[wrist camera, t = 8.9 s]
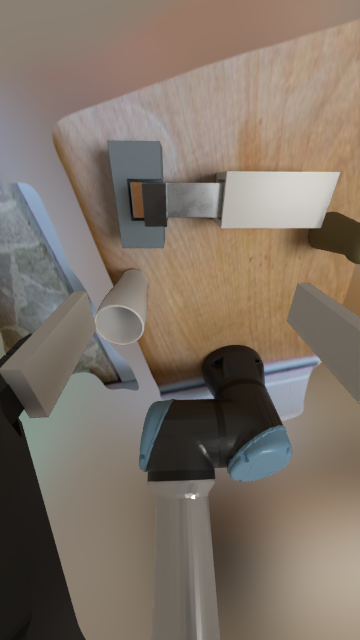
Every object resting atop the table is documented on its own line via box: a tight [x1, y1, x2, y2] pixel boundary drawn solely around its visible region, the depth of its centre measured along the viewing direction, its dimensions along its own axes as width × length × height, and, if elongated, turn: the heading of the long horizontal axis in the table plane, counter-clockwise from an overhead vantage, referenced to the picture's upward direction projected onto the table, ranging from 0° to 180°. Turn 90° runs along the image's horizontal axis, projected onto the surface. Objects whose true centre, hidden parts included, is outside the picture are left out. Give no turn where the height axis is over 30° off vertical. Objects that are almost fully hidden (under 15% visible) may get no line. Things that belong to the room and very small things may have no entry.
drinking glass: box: [94, 269, 149, 345], centre depth 34 cm, size 7×7×15 cm
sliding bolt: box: [130, 182, 225, 227], centre depth 27 cm, size 4×18×11 cm, turn 90°
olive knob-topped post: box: [308, 212, 360, 264], centre depth 32 cm, size 6×6×11 cm
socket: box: [107, 141, 165, 248], centre depth 30 cm, size 12×6×7 cm, turn 0°
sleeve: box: [213, 171, 340, 228], centre depth 30 cm, size 6×14×7 cm, turn 90°
